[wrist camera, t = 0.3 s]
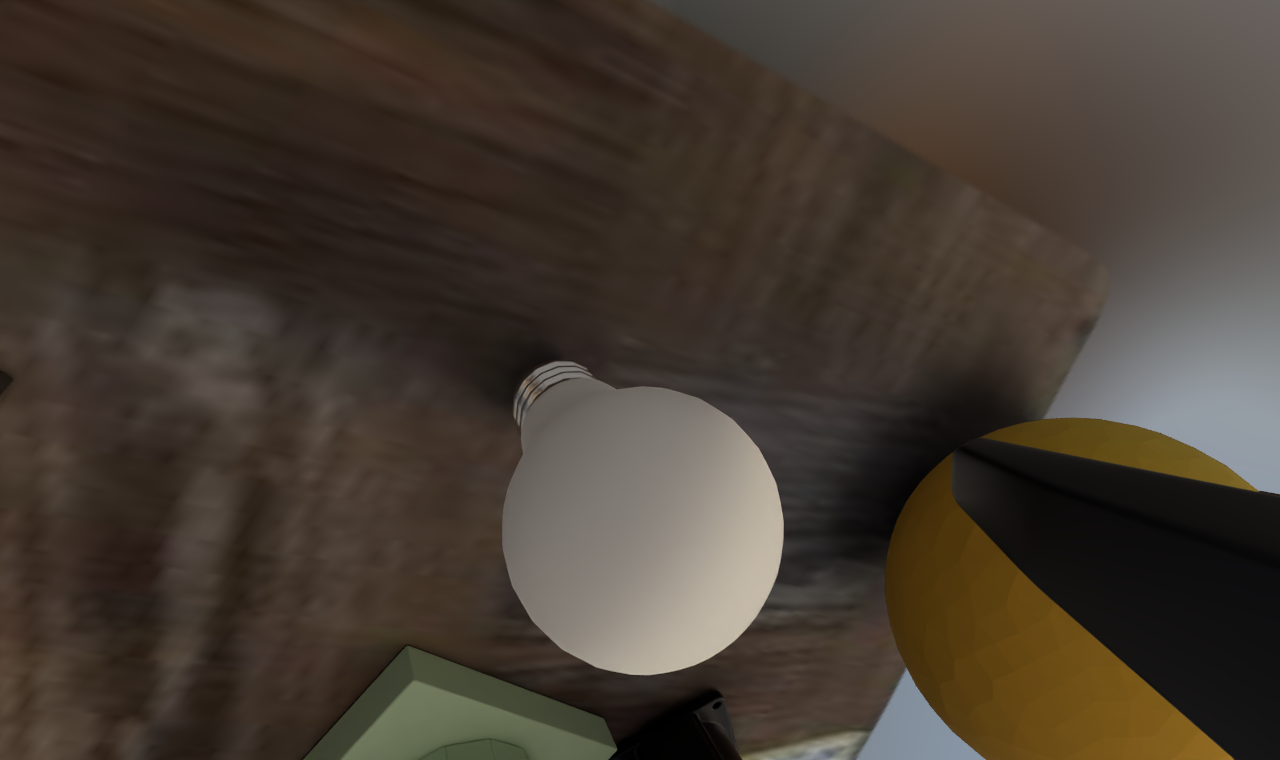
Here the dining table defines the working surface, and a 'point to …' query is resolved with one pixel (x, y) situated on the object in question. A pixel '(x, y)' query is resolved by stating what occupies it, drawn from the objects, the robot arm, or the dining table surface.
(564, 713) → the button box
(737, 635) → the light bulb
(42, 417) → the dining table surface
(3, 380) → the switch bracket
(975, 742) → the emoji
